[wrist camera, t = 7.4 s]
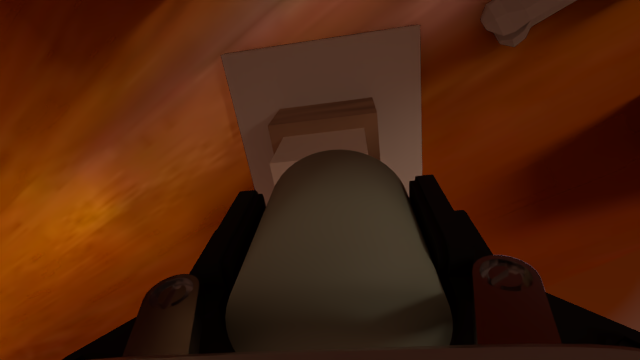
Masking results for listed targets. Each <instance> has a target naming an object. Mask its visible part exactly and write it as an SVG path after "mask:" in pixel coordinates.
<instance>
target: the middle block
mask: <svg viewBox="0 0 640 360" xmlns="http://www.w3.org/2000/svg"><path fill="white" fill-rule="evenodd" d="M339 149H342V150H352V151H357V152H361V153H364V154H367V155H368V150H367V143H366V137H365V131H364V128H358V129H349V130H341V131H332V132H323V133H315V134H306V135H297V136H289V137H283V139H282V141H281V143H280V145H279V146H278V148H277V150H276V152H275V154H274V156H273V158H272V160H271V162H270V168H271V172H272V177H273V181H274V186H275V185H276V183H277V181H278V180H279V178H280V177H281V175H282V174H283V173H284V172H285V171H286V170H287V169H288V168H289V167H290V166H292V165H293V164H294V163H295V162H297V161H299V160H300V159H302V158H304V157H306V156H309V155H311V154H314V153H317V152H321V151H327V150H339Z"/></svg>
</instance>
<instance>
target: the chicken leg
mask: <svg viewBox="0 0 640 360" xmlns="http://www.w3.org/2000/svg"><path fill="white" fill-rule="evenodd" d="M575 1H576V0H492V1H490V2H489V3H488V4H486V5H485V7H484V10H483V13H482V16H481V19H480V20H481V22H482V24H483V25H484V27H485V28H486V30H487V31H490V32H493V33H494V35H495V37H496V39H497V40H498V42H499V43H500V44H502V45H507V46H511V47H515V46H516V45H518V44H519V43H520V42H521V41H522V40H524V39H525V38H526V36H527V34H528V32H529V30H530V28H531V27H532V26H533V25H535V24H537V23H539V22H540V21H542V20H544V19H545V18H547V17H549V16H551V15H552V14H554V13H556V12H558V11H559V10H561V9H563V8H564V7H566V6H568V5H570V4H571V3H573V2H575Z"/></svg>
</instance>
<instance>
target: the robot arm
mask: <svg viewBox="0 0 640 360" xmlns="http://www.w3.org/2000/svg"><path fill="white" fill-rule="evenodd" d="M409 199H410V202H411V205H412V207H413V210H414V213H415V215H416V218H417V221H418V223H419V226H420V229H421V231H422V234H423V237H424V239H425V242H426V245H427V247H428V250H429V253H430V255H431V258H432V261H433V263H434V266H435V269H436V271H437V274H438V277H439V279H440V282H441V285H442V287H443V290H444V293H445V295H446V298H447V301H448V303H449V306H450V310H451V314H452V320H453V331H452V338H451V342H450V345H448V346H412V347H376V348H345V349H315V350H286V351H257V352H235V350H234V349H233V347H232V344H231V342H230V340H229V337H228V333H227V329H226V320H225V315H226V307H227V303H228V300H229V297H230V294H231V292H232V289H233V287H234V284H235V282H236V279H237V277H238V274H239V272H240V270H241V267H242V265H243V262H244V260H245V257H246V255H247V252H248V250H249V248H250V245H251V243H252V240H253V238H254V235H255V233H256V230H257V228H258V225H259V223H260V221H261V218H262V216H263V213H264V211H265V208H266V204H265V200H264V196H263V194H258V192H257V191H256V190H252V191H241V192H239V194H238V196H237V197H236V199H235V201H234V202H233V204H232V206H231V207H230V209H229V211H228V212H227V214H226V216H225V217H224V219H223V221H222V222H221V224H220V226H219V227H218V229H217V230H216V231H215V232H214V234H213V235H212V237H211V239H210V240H209V242H208V244H207V245H206V247H205V249H204V250H203V252H202V254H201V255H200V257H199V259H198V260H197V262H196V264H195V265H194V267H193V269H192V270H191V272H190V274H180V275H175V276H172V277H169V278H166V279H164V280H162V281H160V282H159V283H157V284H156V285H155V286H153V287H152V288H151V289H150V290H149V291H148V292H147V294H146V295H145V297H144V299H143V301H142V304H141V307H140V309H139V312H138V315H137V317H135V318H134V319H132V320H130V321H128V322H127V323H125V324H123V325H121V326H120V327H118V328H116V329H114V330H113V331H111V332H109V333H107V334H105V335H104V336H102V337H100V338H98V339H97V340H95V341H93V342H91V343H90V344H88V345H86V346H84V347H83V348H81V349H79V350H77V351H75V352H74V353H72V354H70V355H68V356H67V357H65V358H64V359H62V360H640V332H638V331H636V330H634V329H631V328H629V327H626V326H624V325H622V324H619V323H617V322H614V321H612V320H610V319H607V318H605V317H603V316H600V315H598V314H596V313H593V312H591V311H588V310H586V309H584V308H582V307H579V306H577V305H574V304H572V303H569V302H567V301H565V300H563V299H560V298H558V297H555V296H553V295H551V294H548V293H546V292H545V290H544V286H543V283H542V280H541V278H540V276H539V274H538V272H537V271H536V270H535V269H534V268H533V267H532V266H530V265H529V264H527V263H525V262H523V261H522V260H519V259H516V258H513V257H509V256H504V255H493V254H492V252H491V251H490V249H489V248H488V246H487V245H486V243H485V241H484V240H483V238H482V237H481V235H480V234H479V232H478V230H477V229H476V227H475V226H474V224H473V223H472V221H471V220H470V218H469V216H468V215H467V213H466V212H465V211H464V210H457V211H454V210H453V208H452V207H451V205H450V203H449V202H448V200H447V198H446V196H445V195H444V193H443V191H442V189H441V188H440V186H439V184H438V183H437V181H436V179H435V177H434V176H433V175H423V176H415V180H414V181H409Z"/></svg>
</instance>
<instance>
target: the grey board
mask: <svg viewBox="0 0 640 360" xmlns="http://www.w3.org/2000/svg"><path fill="white" fill-rule="evenodd" d="M221 58H222V62H223V66H224V70H225V74H226V78H227V82H228V86H229V90H230V94H231V97H232V101H233V105H234V109H235V113H236V117H237V121H238V125H239V129H240V133H241V137H242V141H243V145H244V149H245V153H246V156H247V160H248V164H249V168H250V172H251V176H252V180H253V184H254V188H255V190H256V191H257V192H258V194H263V196H264V200H265V204H266V206H267V203H268V201H269V199H270V196H271V194H272V191H273V189H274V187H275V186H274V181H273V177H272V172H271V168H270V162H271V160H272V158H273V156H274V153H273V148H272V144H271V139H270V135H269V130H268V125H269V123H270V122H271V120H272V119H273V118H274V116H275V115H276V113H277V112H278V111H279V109H283V108H291V107H299V106H307V105H315V104H323V103H331V102H339V101H346V100H354V99H362V98H370V97H372V98H373V101H374V104H375V108H376V111H377V119H378V133H379V147H380V161H381V162H383V163H384V164H386V165H387V166H388V167H389V168H390V169H391V170H393V171H394V172H395V174H396V175H397V176H398V177H399V178H400V180H401V182H402V183H403V185H404V187H405V189H406V191H407V194H408V196H409V181H414V180H415V176H422V130H421V55H420V25H412V26H405V27H398V28H392V29H385V30H379V31H372V32H365V33H359V34H352V35H346V36H339V37H332V38H326V39H319V40H313V41H306V42H299V43H293V44H286V45H280V46H273V47H266V48H260V49H253V50H246V51H240V52H233V53H227V54H223V55H221Z"/></svg>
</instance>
